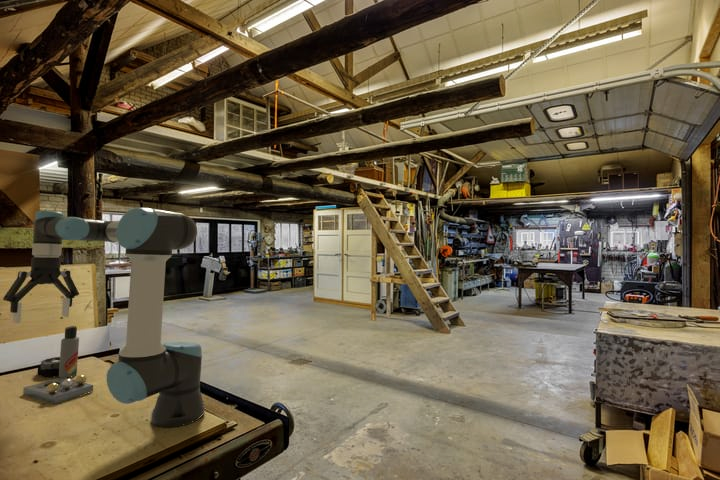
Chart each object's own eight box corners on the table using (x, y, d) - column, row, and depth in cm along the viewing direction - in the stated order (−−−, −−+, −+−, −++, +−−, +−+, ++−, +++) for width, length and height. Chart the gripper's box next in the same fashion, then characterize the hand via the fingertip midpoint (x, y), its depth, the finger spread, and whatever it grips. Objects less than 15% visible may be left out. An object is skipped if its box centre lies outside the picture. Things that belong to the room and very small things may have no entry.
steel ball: (74, 387, 128) (75, 378, 128) (64, 390, 125) (65, 381, 125) (69, 386, 129) (69, 377, 129) (59, 389, 126) (59, 379, 126)
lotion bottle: (79, 375, 146) (82, 326, 147) (61, 379, 141) (65, 328, 142) (73, 372, 149) (76, 324, 150) (56, 376, 144) (59, 326, 145)
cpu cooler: (64, 354, 155) (77, 358, 151) (63, 368, 155) (76, 372, 151) (34, 360, 146) (47, 364, 142) (33, 374, 146) (46, 379, 141)
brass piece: (88, 383, 132) (88, 374, 132) (78, 386, 129) (79, 377, 129) (82, 382, 133) (83, 373, 133) (73, 384, 130) (73, 375, 130)
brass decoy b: (60, 391, 124) (61, 382, 124) (49, 395, 121) (50, 385, 121) (54, 390, 125) (55, 380, 125) (43, 393, 122) (44, 383, 122)
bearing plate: (92, 391, 131) (93, 384, 131) (54, 404, 120) (55, 396, 120) (61, 383, 137) (62, 377, 137) (23, 394, 126) (23, 387, 126)
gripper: (80, 256, 135) (76, 313, 134) (-8, 255, 112) (-14, 324, 111) (93, 257, 132) (89, 315, 131) (4, 256, 109) (-1, 327, 108)
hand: (42, 319), depth 121 cm, fingers open, 13 cm apart
